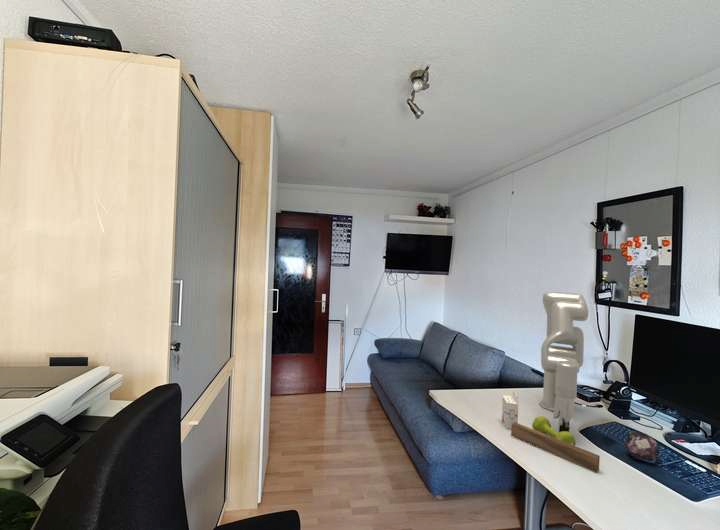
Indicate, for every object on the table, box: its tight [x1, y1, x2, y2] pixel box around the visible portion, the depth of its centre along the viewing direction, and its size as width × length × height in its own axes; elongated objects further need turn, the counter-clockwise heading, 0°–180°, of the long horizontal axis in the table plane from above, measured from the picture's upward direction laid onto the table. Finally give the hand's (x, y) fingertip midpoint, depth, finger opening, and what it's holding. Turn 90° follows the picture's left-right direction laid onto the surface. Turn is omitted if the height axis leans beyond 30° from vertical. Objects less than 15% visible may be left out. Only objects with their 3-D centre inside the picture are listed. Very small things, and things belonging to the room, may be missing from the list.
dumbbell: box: [531, 415, 577, 446], centre depth 132 cm, size 16×8×7 cm, turn 11°
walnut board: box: [510, 422, 601, 473], centre depth 125 cm, size 3×30×5 cm, turn 40°
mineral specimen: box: [624, 430, 661, 463], centre depth 123 cm, size 10×10×10 cm
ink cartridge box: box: [501, 390, 519, 430], centre depth 145 cm, size 9×5×15 cm, turn 168°
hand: (564, 435), depth 134 cm, fingers closed
